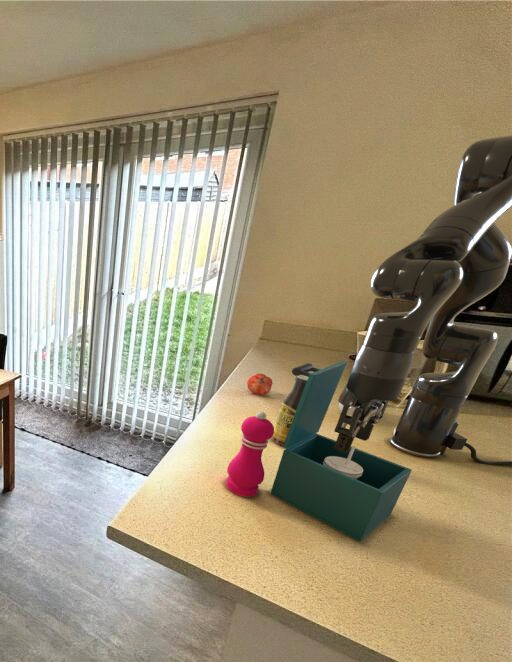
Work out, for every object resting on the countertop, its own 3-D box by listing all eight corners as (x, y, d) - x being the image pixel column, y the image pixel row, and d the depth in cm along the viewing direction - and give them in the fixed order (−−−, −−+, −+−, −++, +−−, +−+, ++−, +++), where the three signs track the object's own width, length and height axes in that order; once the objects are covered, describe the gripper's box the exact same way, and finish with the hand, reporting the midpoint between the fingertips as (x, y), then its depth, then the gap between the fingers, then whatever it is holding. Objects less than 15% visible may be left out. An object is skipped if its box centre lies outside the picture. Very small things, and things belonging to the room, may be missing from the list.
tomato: (242, 393, 143) (243, 385, 135) (251, 375, 143) (252, 366, 135) (265, 401, 139) (268, 393, 130) (274, 382, 139) (277, 373, 131)
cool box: (389, 516, 81) (412, 469, 77) (360, 542, 75) (382, 492, 71) (301, 475, 95) (315, 433, 90) (270, 494, 89) (283, 449, 84)
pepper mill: (255, 481, 93) (276, 406, 85) (262, 501, 87) (287, 422, 79) (221, 476, 95) (239, 402, 87) (226, 494, 89) (246, 417, 81)
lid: (347, 362, 82) (317, 353, 87) (314, 375, 76) (283, 365, 80) (318, 432, 90) (292, 421, 94) (286, 449, 84) (259, 436, 88)
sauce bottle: (264, 437, 111) (283, 372, 103) (285, 435, 111) (305, 371, 104) (281, 449, 105) (303, 381, 97) (303, 448, 105) (326, 380, 98)
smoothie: (355, 513, 81) (379, 456, 76) (320, 509, 83) (341, 453, 77) (337, 493, 87) (358, 439, 82) (304, 490, 88) (323, 437, 83)
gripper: (389, 385, 66) (357, 464, 73) (422, 368, 73) (390, 442, 79) (337, 371, 72) (312, 446, 79) (371, 357, 79) (345, 427, 85)
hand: (351, 444), depth 79 cm, fingers open, 8 cm apart
